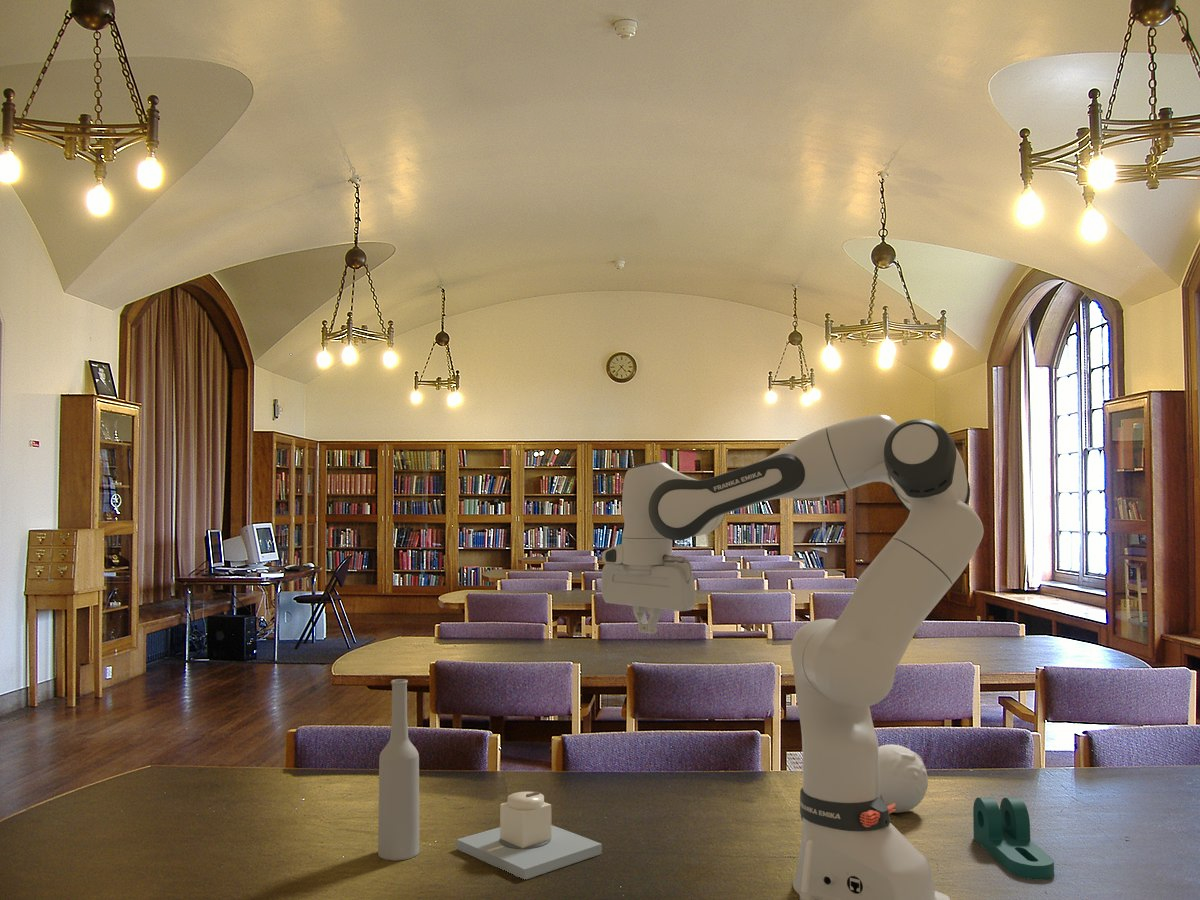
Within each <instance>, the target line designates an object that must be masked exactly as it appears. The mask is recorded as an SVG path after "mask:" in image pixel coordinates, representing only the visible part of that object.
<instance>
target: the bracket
mask: <svg viewBox="0 0 1200 900" xmlns="http://www.w3.org/2000/svg"><path fill="white" fill-rule="evenodd" d="M972 809H973V810H972V817H973V819H972V820H973V839H974V840H975V841H976V843H978V844H979V845H980V846H981V847H982V848H983V849H984V850H985V851H987V853H988V854H990V855H991V856H992V857H993V858H994V859H995V860H996V861H997V862H998V863H999V864H1000V865H1001V866H1003V868H1004V869H1006V871H1008V873H1010V874H1012V875H1014V876H1017V877H1019V876H1020V878H1024V879H1027V878H1029V879H1028V880H1036V879H1043V880H1048V879H1049V880H1050V879H1052V878H1054V876H1055V859H1054V858H1053V857H1052V856H1051V855H1049V854H1048V853H1047V852H1046V851H1044V849H1042V848H1041V847H1040V846H1038V845H1037V844H1036V843H1035V842H1033V841H1032V840H1031V821H1030V816H1029V811H1028V807H1027V806H1026V802H1025V801H1024V800H1023V799H1022V798H1021V797H1003V798H1002V799H1001V801H1000V806H999V804H998V802H997V800H996V799H995V798H993V797H976V798H975V799H974V802H973V808H972Z"/></svg>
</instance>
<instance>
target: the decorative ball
mask: <svg viewBox="0 0 1200 900" xmlns="http://www.w3.org/2000/svg"><path fill="white" fill-rule="evenodd" d="M878 755H879V792H880V794H881V795H882V797H883V800H884V802H885V804H886V806H889V805H891V804H894V803H895V804H896V806H895V807H894V808H892V810H894V809H896V811H894V812H892V813H893V814H894V813H896V814H899V813H906V812H909V811H911V810H913V809H914V808H915V807H917V806H918V805H919V804H920V803H921V802H922V801H923V800H924V798H925V795H926V793H927V789H928V784H929V782H928V780H929V779H928V774H927V773H928V772H927V771H928V770H927V767H926V765H925V763H924V761H923V759H922V757H921V756H920V755H919V754H918V753H916V752H914V751H913V750H911V749H909V748H907V747H906V746H903V745H899V744H892V743H891V744H884V745H880V746H878Z"/></svg>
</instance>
